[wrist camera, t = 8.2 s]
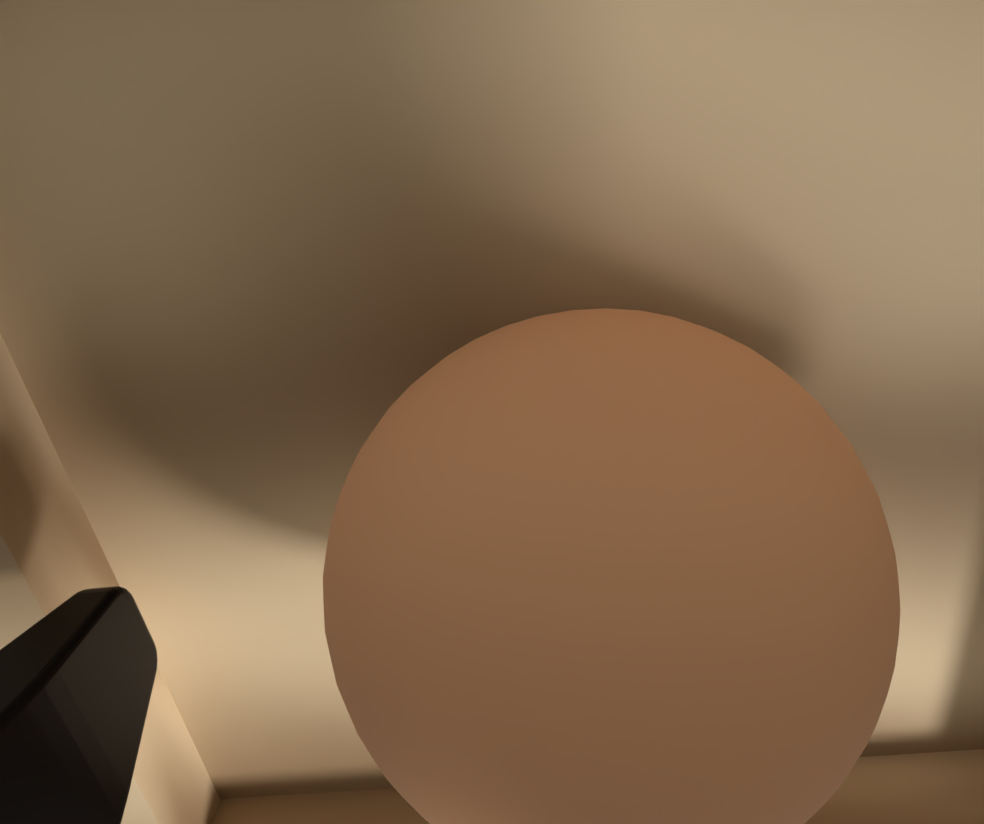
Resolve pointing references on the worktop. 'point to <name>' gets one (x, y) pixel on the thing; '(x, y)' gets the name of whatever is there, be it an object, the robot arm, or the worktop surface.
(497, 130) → the tray
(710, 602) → the ball
